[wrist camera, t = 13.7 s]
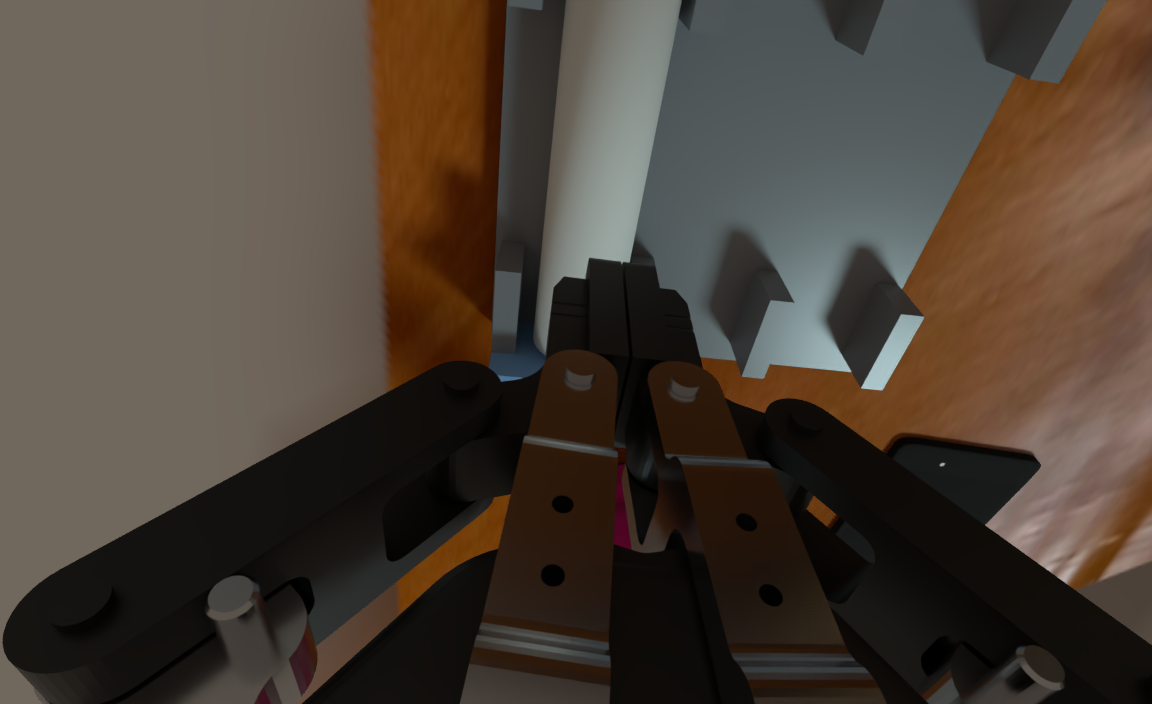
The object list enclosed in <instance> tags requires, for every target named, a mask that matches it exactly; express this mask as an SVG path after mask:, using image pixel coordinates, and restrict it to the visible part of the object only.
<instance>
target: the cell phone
mask: <svg viewBox="0 0 1152 704" xmlns="http://www.w3.org/2000/svg"><path fill="white" fill-rule="evenodd" d="M886 455H888V456H889V457H891V458H892V459H893V460H895V461H896V462H897V463H899V464H900V465H902V466H903V467H904V468H906V469H907V470H909V471H910V472H911V473H913V474H914V475H916V476H917V477H918V478H920V479H921V480H923V481H924V482H925V483H927V484H928V485H929V486H931V487H932V488H934V489H935V490H936V491H938V492H939V493H941V494H942V495H943V496H945V497H946V498H948V499H949V500H950V501H952V502H953V503H955V504H956V505H957V506H959V507H960V508H961V509H963V510H964V511H966V512H967V513H968V514H970V515H971V516H973V517H974V518H975V519H977V520H978V521H980V522H981V523H982V524H984V525H985V524H986V523H987V522H988V521H989V520H990V519H991V518H992V517H993V516H994V515H995V514H996V513H997V512H998V511H999V510H1000V509H1001V508H1002V507H1003V506H1004V505H1005V504H1006V503H1007V502H1008V501H1009V500H1010V499H1011V498H1012V497H1013V496H1014V495H1015V494H1016V493H1017V492H1018V491H1019V490H1020V489H1021V488H1022V487H1023V486H1024V485H1025V484H1026V483H1027V482H1028V481H1029V480H1030V479H1031V478H1032V476H1033V475H1034V474H1035V473H1036V472H1037V471H1038V470H1039V469H1040V467H1041V464H1040V463H1039V462H1038V460H1037V459H1036V458H1035V457H1034V456H1031V455H1027V454H1022V453H1015V452H1008V451H1001V450H995V449H988V448H981V447H975V446H968V445H961V444H955V443H948V442H941V441H934V440H928V439H921V438H913V437H905V438H901V439H899V440H897V441H896V442H895V443H894V445H893V446H892V447H891V449H890V450H889V451H888V453H887V454H886ZM831 531H832V532H834V533H835V534H836V535H837V536H838V537H839V538H841V539H842V540H843V541H844V542H845V543H846V544H848V545H849V546H850V547H851V548H852V549H853V550H855V551H856V552H857V553H858V554H859V555H860V556H862V557H863V558H864V559H865V560H867V561H868V562H870V563H873V564H874V562H875V554H874V551H873V549H872V547H871V545H870V544H869V542H868V541H867V540H866V539H865V538H864V537H863V536H862V535H861V534H860V533H859V532H857V531H856V530H855V529H854V528H853V527H851V526H850V525H849V524H848V523H846V522H845V521H844V520H843V519H842V518H839V519H838V520H837V522H836V523H835V524H834V526H833V527H832V528H831Z"/></svg>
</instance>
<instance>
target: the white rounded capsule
mask: <svg viewBox="0 0 1152 704" xmlns="http://www.w3.org/2000/svg"><path fill="white" fill-rule="evenodd" d="M681 2H682V0H566V4H565V15H564V25H563V35H562V45H561V56H560V66H559V76H558V86H557V97H556V107H555V117H554V127H553V138H552V148H551V158H550V168H549V179H548V189H547V199H546V209H545V220H544V230H543V240H542V250H541V261H540V271H539V281H538V291H537V302H536V312H535V322H534V332H533V340H534V343H535V345H536V347H537V348H538V350H539V351H540V352H541V353H543V354H544V355H545V356H546V345H547V337H548V328H549V320H550V312H551V304H552V296H553V288H554V286H555V285H556V284H557V283H558V282H559V281H560V280H561V279H562V278H563V277H564V276H565V277H574V278H582V279H585V277H586V271H587V265H588V260H589V258H597V259H605V260H613V261H621V263H623V262H630V258H631V253H632V248H633V243H634V238H635V233H636V228H637V223H638V218H639V213H640V208H641V203H642V198H643V193H644V188H645V183H646V178H647V173H648V168H649V163H650V158H651V153H652V148H653V143H654V138H655V133H656V128H657V123H658V118H659V113H660V108H661V103H662V98H663V93H664V88H665V83H666V78H667V73H668V68H669V63H670V57H671V52H672V47H673V42H674V37H675V32H676V27H677V22H678V17H679V12H680V7H681Z"/></svg>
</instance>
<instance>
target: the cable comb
mask: <svg viewBox="0 0 1152 704" xmlns="http://www.w3.org/2000/svg"><path fill="white" fill-rule="evenodd" d="M1106 1H1107V0H682V2H681V7H680V12H679V17H678V22H677V27H676V32H675V37H674V42H673V47H672V52H671V57H670V63H669V68H668V73H667V78H666V83H665V88H664V93H663V98H662V103H661V108H660V113H659V118H658V123H657V128H656V133H655V138H654V143H653V148H652V153H651V158H650V163H649V168H648V173H647V178H646V183H645V188H644V193H643V198H642V203H641V208H640V213H639V218H638V223H637V228H636V233H635V238H634V243H633V248H632V253H631V258H630V263H638V264H646V265H654V266H655V267H656V271H657V277H658V282H659V288H665V289H673V290H676V291H677V292H678V293H679V294H680V296H681V297H682V298H683V299H684V300H685V301H686V302H687V304H688V308H689V312H690V316H691V319H690V320H691V321H692V325H693V332H694V333H695V337H696V342H697V346H698V350H699V354H700V357H706V358H716V359H726V360H736V362H737V364H738V367H739V370H740V373H741V376H742V377H751V378H762V379H764V377H765V374H766V372H767V369H768V367H769V364H776V365H786V366H796V367H806V368H816V369H826V370H836V371H846V372H852V373H853V375H854V377H855V379H856V380H857V382H858V384H859V386H860V387H861V388H864V389H874V390H883V388H884V387H885V385H886V383H887V381H888V380H889V378H890V376H891V374H892V373H893V371H894V369H895V367H896V366H897V364H898V362H899V361H900V359H901V357H902V355H903V354H904V352H905V350H906V348H907V347H908V345H909V343H910V341H911V340H912V338H913V336H914V334H915V333H916V331H917V329H918V327H919V326H920V324H921V322H922V321H923V319H924V315H923V314H922V313H921V312H920V311H919V309H918V308H917V307H916V306H915V305H914V303H913V302H912V301H911V300H910V299H909V297H908V296H907V295H906V294H905V293H904V291H903V290H902V288H903V286H904V284H905V283H906V281H907V279H908V277H909V275H910V273H911V271H912V269H913V267H914V266H915V264H916V262H917V260H918V258H919V256H920V254H921V252H922V250H923V249H924V247H925V245H926V243H927V241H928V239H929V237H930V235H931V233H932V232H933V230H934V228H935V226H936V224H937V222H938V220H939V218H940V216H941V215H942V213H943V211H944V209H945V207H946V205H947V203H948V201H949V199H950V198H951V196H952V194H953V192H954V190H955V188H956V186H957V184H958V182H959V181H960V179H961V177H962V175H963V173H964V171H965V169H966V167H967V165H968V164H969V162H970V160H971V158H972V156H973V154H974V152H975V150H976V148H977V147H978V145H979V143H980V141H981V139H982V137H983V135H984V133H985V131H986V130H987V128H988V126H989V124H990V122H991V120H992V118H993V116H994V114H995V113H996V111H997V109H998V107H999V105H1000V103H1001V101H1002V99H1003V97H1004V96H1005V94H1006V92H1007V90H1008V88H1009V86H1010V84H1011V82H1012V80H1013V79H1014V77H1015V75H1016V74H1018V75H1020V76H1023V77H1025V78H1027V79H1031V80H1038V81H1045V82H1052V83H1059V82H1060V81H1061V79H1062V77H1063V75H1064V74H1065V72H1066V70H1067V68H1068V67H1069V65H1070V63H1071V61H1072V60H1073V58H1074V56H1075V55H1076V53H1077V51H1078V49H1079V48H1080V46H1081V44H1082V42H1083V41H1084V39H1085V37H1086V35H1087V34H1088V32H1089V30H1090V28H1091V27H1092V25H1093V23H1094V21H1095V20H1096V18H1097V16H1098V15H1099V13H1100V11H1101V9H1102V8H1103V6H1104V4H1105V2H1106ZM565 4H566V0H507V12H506V34H505V55H504V76H503V97H502V119H501V140H500V161H499V183H498V204H497V225H496V247H495V268H494V289H493V310H492V332H491V336H492V351H491V357H490V362H489V368H490V369H491V370H493V371H494V372H495V373H496V374H497V375H498V377H499V378H500V380H501V382H502V381H510V380H517V379H521V378H525V377H528V376H530V375H532V374H534V373H535V372H537V371H538V370H539V369H540V368H541V367H542V366H543V365H544V363H545V355H544V354H543V353H541V352H540V351H539V350H538V348H537V347H536V345H535V343H534V340H533V332H534V322H535V312H536V302H537V291H538V281H539V271H540V261H541V250H542V240H543V230H544V220H545V209H546V199H547V189H548V179H549V168H550V158H551V148H552V138H553V127H554V117H555V107H556V97H557V86H558V76H559V66H560V56H561V45H562V35H563V25H564V15H565Z"/></svg>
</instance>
